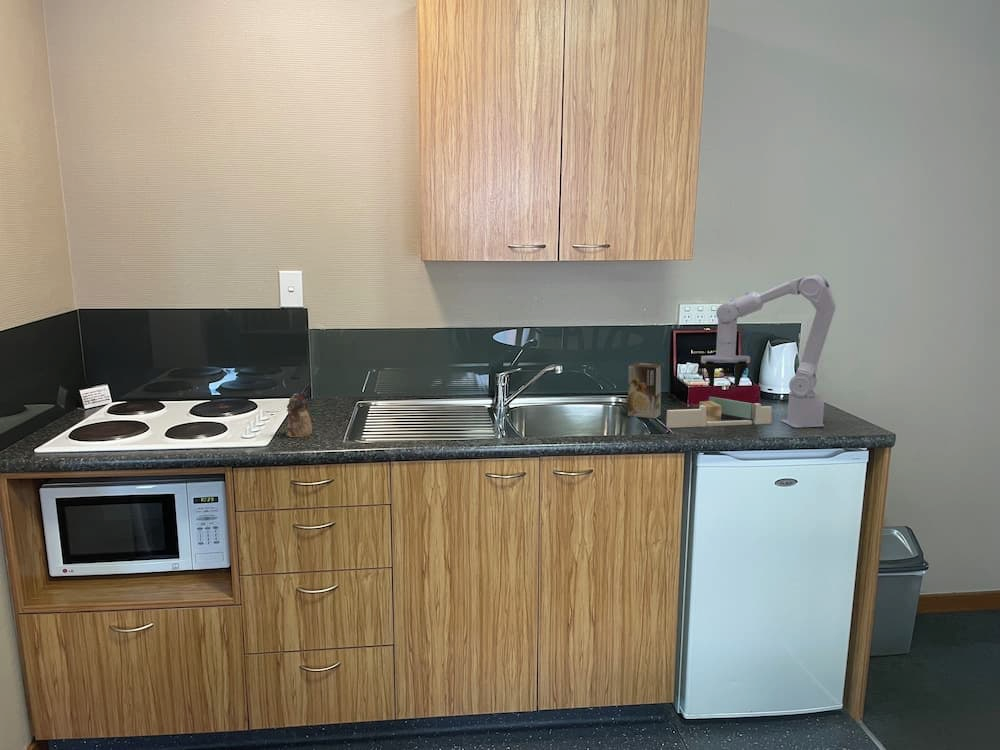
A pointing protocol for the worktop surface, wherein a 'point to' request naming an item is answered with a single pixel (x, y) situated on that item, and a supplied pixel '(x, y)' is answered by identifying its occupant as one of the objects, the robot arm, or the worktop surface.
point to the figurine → (298, 417)
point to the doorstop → (712, 410)
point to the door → (735, 407)
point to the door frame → (699, 420)
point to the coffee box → (644, 390)
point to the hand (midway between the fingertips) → (724, 385)
